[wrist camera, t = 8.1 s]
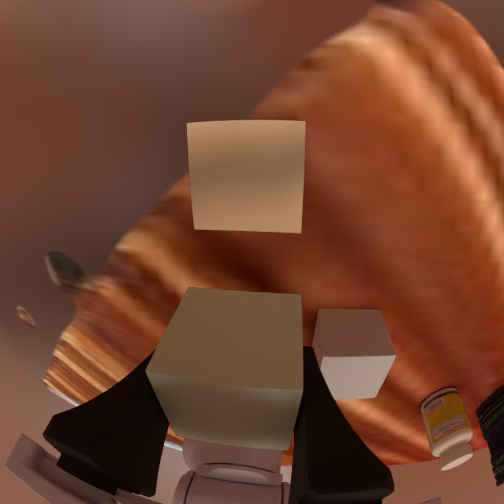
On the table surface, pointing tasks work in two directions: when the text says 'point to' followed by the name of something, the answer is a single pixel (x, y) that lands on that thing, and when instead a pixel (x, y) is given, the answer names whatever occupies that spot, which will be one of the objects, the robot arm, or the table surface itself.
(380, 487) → the robot arm
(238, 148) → the birch block
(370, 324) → the white cube
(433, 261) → the table surface
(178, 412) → the sage block
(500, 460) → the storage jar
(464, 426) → the supplement bottle
